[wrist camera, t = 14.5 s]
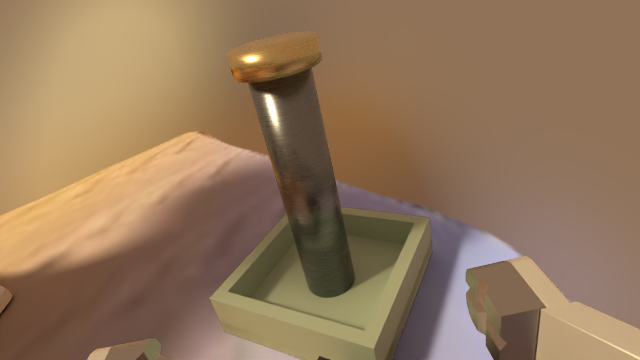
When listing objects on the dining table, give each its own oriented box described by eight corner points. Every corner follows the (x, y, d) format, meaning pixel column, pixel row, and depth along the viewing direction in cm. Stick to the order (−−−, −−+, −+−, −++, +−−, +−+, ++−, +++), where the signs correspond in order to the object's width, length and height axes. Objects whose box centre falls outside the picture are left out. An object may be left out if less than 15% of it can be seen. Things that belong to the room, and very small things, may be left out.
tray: (224, 331, 25) (209, 298, 23) (305, 231, 32) (296, 201, 31) (381, 387, 19) (373, 348, 18) (432, 251, 27) (429, 217, 26)
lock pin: (286, 296, 25) (206, 59, 18) (317, 252, 28) (261, 36, 21) (347, 312, 23) (285, 50, 15) (374, 262, 26) (333, 26, 19)
